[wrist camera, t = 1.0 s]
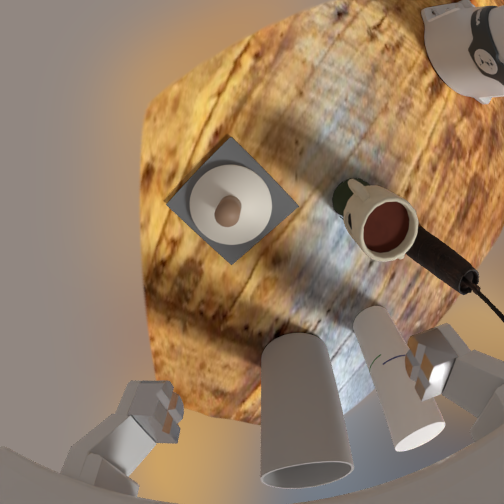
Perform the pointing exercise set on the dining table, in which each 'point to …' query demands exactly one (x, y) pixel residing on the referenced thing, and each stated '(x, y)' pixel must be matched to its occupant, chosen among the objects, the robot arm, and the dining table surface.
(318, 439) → the cylinder vase
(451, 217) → the dining table surface
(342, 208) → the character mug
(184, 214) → the mat
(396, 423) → the cylindrical container
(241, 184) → the lid
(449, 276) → the butter churn
